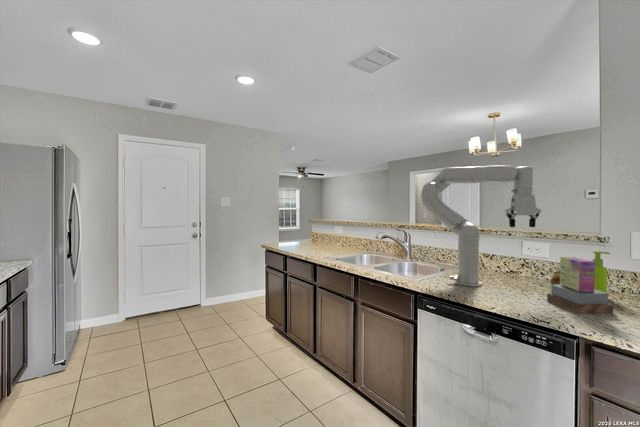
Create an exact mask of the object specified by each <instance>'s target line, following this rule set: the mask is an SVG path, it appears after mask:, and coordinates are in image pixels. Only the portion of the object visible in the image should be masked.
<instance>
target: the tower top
mask: <svg viewBox="0 0 640 427" xmlns="http://www.w3.org/2000/svg"><path fill="white" fill-rule="evenodd" d="M551 293H552V294H553V295H555V296H558V297H561V298H563V299H566V300H568V301H571V302H574V303H576V304H608V303H609V293H608V292H607V293H605V292H602V291H599V290H595V289H594V292H578V291H576V290H573V289H571V288H568V287H565V286H563V285H560V284H557V285H552V284H551Z"/></svg>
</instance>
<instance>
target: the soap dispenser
mask: <svg viewBox="0 0 640 427" xmlns="http://www.w3.org/2000/svg"><path fill="white" fill-rule="evenodd" d="M592 253H593V254H594V258H592V260H591V261H593V262H595V284H594V289H595V290H599V291H602V292H605V293H608V285H607V284H608V267H605V266H604V259H602V258H601V254H606V255H611V254H612V253H610V252H607V251H598V250H597V251H592Z"/></svg>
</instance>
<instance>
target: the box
mask: <svg viewBox="0 0 640 427" xmlns="http://www.w3.org/2000/svg"><path fill="white" fill-rule="evenodd" d="M559 266H560V267H559V271H560V285H563V286H565V287H568V288H571V289H573V290H576V291H578V292H594V284H595V262H593V261H592V260H590V259H589V260H588V259H584V258H579V257H575V256H560V265H559Z"/></svg>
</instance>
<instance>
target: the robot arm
mask: <svg viewBox="0 0 640 427" xmlns="http://www.w3.org/2000/svg"><path fill="white" fill-rule="evenodd" d="M533 170H534V169H533V167H532V166H526V165H525V166H518V167H517V166H516V167H514V166H513V165H484V166H483V165H482V166H480V165H479V166H452V167H451V166H448V167H444V168H443V169H441V171H440V173H439V174H438V175H437V176H436V177H434V178H433V179H432V180H430V181H429V182H427V183H425V184H424V185H423V186H422V189H421V196H420V198H421V202H422V205H423V206H424V207H425V209H426V210H427V211H428V212H429V213H431V214H432V215H433V216H434V217H435V218H437V219H438V220H439V221H440V222H441V223H442V224H443V225H444V227H446V228H448V229H450V230H451V231H452V232H453V233H454V234H456V235H457V237H458V241H457V243H458V244H457V245H458V246H457V247H458V248H457V249H458V250H457V253H458V255H457V256H458V258H457V260H458V267H457V268H458V269H457V270H458V271H457V272H458V273H456V275H454V276H453V275H449V276H448V279H449V280H450V281H451V280H452V281H454V282H455V284H457V285H460V286H463V287H473V288H475V287H481V286H482V285H483V281H481V280H480V276H479V274H480V272H479V270H480V268H479V267H480V266H479V265H480V260H479V258H480V255H479V254H480V253H479V251H480V250H479V246H480V231H479V228H478V227H477V225H475V224H474V223H472V222H470V221H469V220H468V219H466V218H465V217H464V216H463V215H462V214H460V213H459V212H458V211H457V210H455V209H453V208H451V207H450V206H449V205H448V204H447V203H445V202H444V201H443V200H442V199H441V198H440V196H439V195H440V194H441V193H442V192H443V191H445V190H446V189H447V188H448V187H449V186H451V185H452V184H479V183H484V182H485V183H486V182H499V183H503V184H504V183H511V182H513V189H512V190H511V193H513V195H512V196H511V200H510V206H509V207H508V208H505V209H504V210H503V212H504V214H505V216H506V217H507V219H508V221H509V223H508V224H509V228H510V227H511V228H516V219H515V218H516V217H517V216H529V219H528V225H529V226H528V227H530V228H535V227H536V219H538V217H540V214H541V212H542V210H541V209H540V208H538V207H537V202H536V197H535V194H533V183H534V182H533V181H534V180H533V177H534V173H533Z"/></svg>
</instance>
